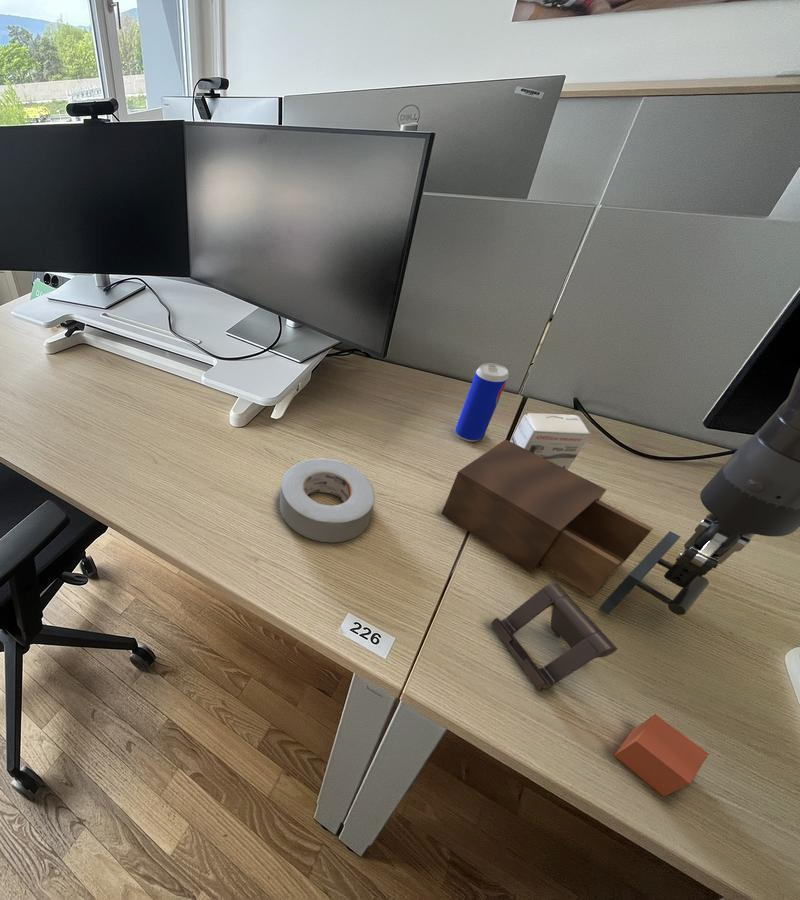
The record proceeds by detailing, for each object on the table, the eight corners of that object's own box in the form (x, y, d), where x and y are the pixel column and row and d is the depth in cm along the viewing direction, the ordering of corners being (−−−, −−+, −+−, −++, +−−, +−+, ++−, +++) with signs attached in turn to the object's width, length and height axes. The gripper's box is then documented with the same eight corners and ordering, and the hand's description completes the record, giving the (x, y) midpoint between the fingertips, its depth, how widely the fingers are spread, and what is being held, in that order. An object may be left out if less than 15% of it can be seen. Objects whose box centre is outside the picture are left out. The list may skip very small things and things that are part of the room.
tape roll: (374, 488, 83) (380, 467, 80) (364, 553, 73) (369, 532, 69) (290, 470, 88) (292, 450, 85) (269, 529, 78) (270, 508, 74)
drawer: (691, 596, 63) (730, 561, 57) (653, 644, 58) (691, 611, 53) (548, 514, 75) (569, 479, 70) (507, 549, 70) (527, 514, 65)
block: (682, 767, 49) (709, 753, 46) (663, 796, 47) (690, 784, 45) (632, 729, 52) (655, 713, 49) (613, 755, 50) (635, 740, 47)
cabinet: (575, 533, 73) (606, 489, 67) (531, 573, 68) (560, 530, 62) (486, 481, 83) (505, 439, 76) (441, 513, 78) (458, 471, 71)
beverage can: (484, 444, 90) (513, 378, 81) (455, 441, 92) (480, 375, 82) (480, 428, 94) (507, 363, 84) (453, 425, 95) (476, 361, 86)
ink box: (507, 482, 82) (534, 429, 75) (498, 463, 86) (522, 411, 78) (561, 485, 81) (594, 432, 73) (549, 466, 85) (579, 413, 77)
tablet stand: (487, 625, 62) (509, 590, 57) (539, 613, 63) (566, 577, 58) (536, 691, 56) (566, 659, 50) (593, 677, 57) (630, 643, 51)
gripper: (805, 533, 42) (690, 631, 53) (847, 473, 47) (734, 574, 58) (701, 487, 47) (616, 585, 58) (749, 438, 52) (662, 536, 63)
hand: (675, 579), depth 58 cm, fingers closed
